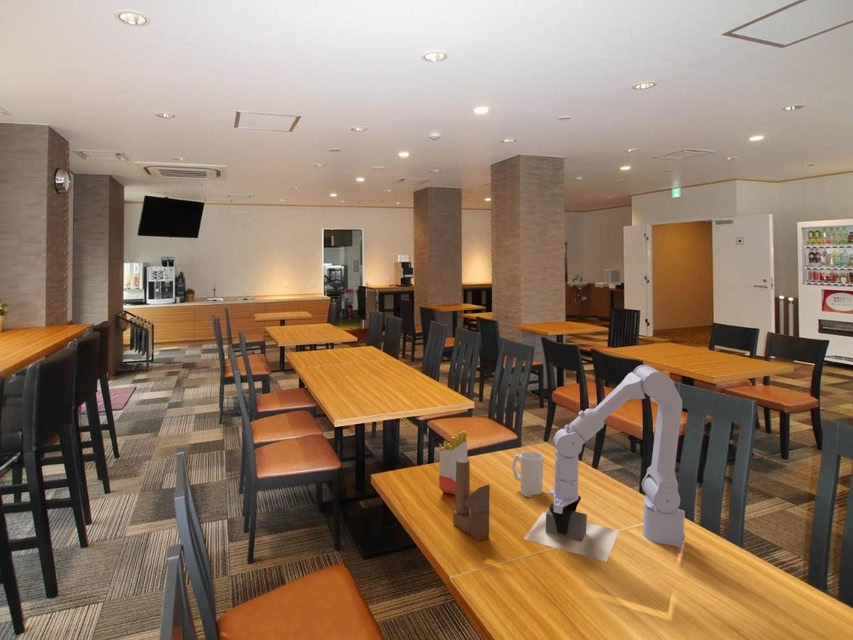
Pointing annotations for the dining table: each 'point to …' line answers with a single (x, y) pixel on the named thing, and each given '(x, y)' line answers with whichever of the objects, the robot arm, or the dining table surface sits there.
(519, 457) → the mug
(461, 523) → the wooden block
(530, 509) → the dining table surface
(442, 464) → the french fries container
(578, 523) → the block
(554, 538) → the board
